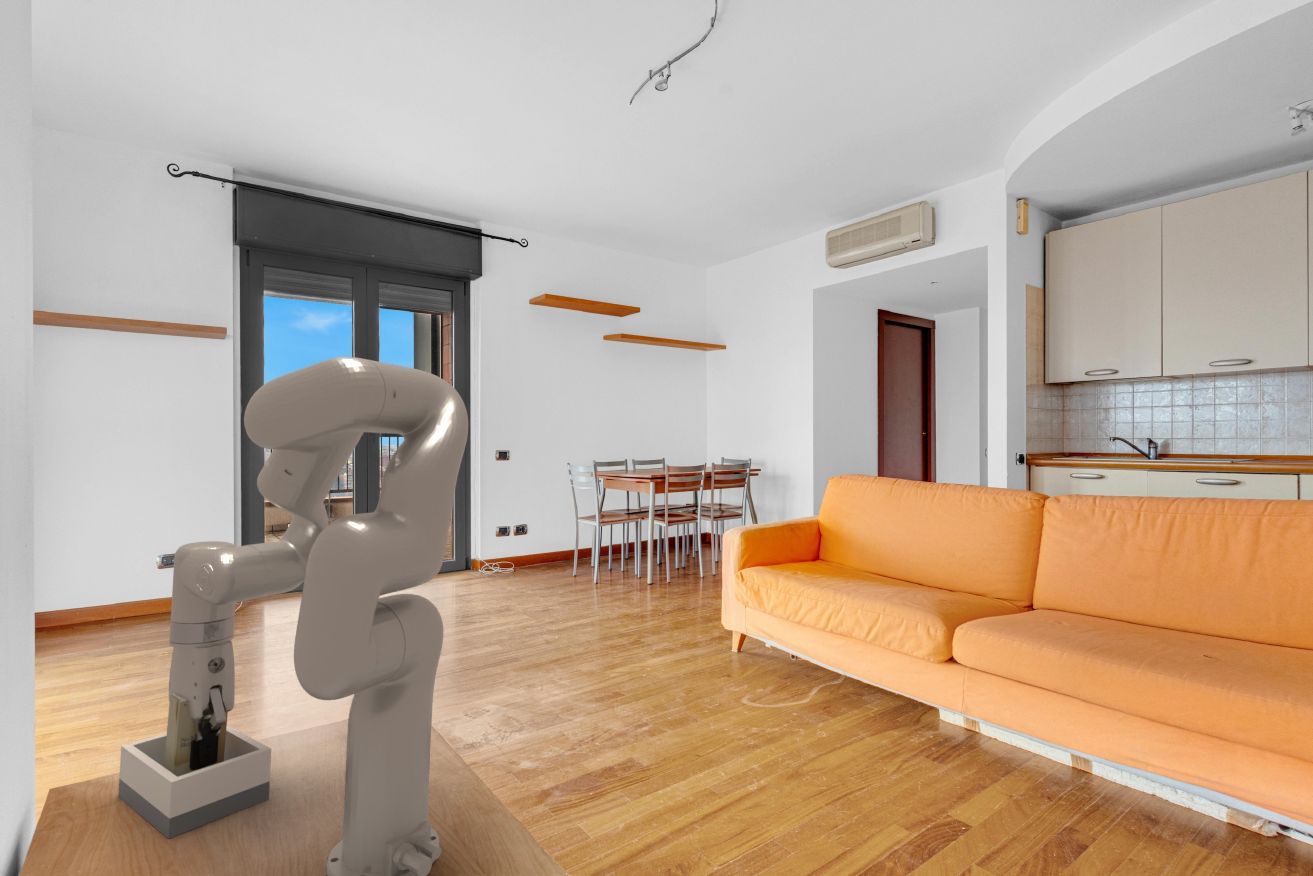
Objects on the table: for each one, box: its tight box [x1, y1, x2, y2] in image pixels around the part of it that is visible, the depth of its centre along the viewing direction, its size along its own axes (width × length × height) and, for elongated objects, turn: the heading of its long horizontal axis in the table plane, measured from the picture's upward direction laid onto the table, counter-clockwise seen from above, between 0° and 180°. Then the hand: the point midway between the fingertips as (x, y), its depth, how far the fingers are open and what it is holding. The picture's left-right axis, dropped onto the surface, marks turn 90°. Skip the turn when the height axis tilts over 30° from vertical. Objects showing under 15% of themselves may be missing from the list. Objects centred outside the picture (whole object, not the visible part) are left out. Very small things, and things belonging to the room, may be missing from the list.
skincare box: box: [164, 693, 229, 777], centre depth 92 cm, size 6×4×12 cm
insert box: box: [117, 724, 272, 840], centre depth 91 cm, size 17×12×7 cm
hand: (195, 759), depth 91 cm, fingers closed on skincare box, 4 cm apart
